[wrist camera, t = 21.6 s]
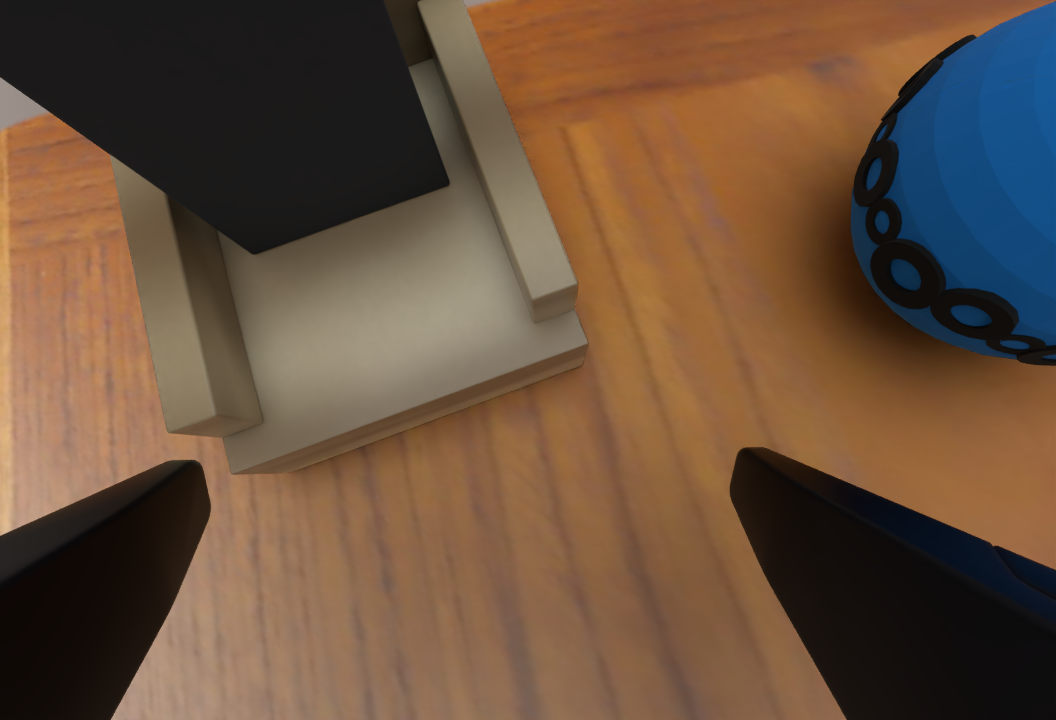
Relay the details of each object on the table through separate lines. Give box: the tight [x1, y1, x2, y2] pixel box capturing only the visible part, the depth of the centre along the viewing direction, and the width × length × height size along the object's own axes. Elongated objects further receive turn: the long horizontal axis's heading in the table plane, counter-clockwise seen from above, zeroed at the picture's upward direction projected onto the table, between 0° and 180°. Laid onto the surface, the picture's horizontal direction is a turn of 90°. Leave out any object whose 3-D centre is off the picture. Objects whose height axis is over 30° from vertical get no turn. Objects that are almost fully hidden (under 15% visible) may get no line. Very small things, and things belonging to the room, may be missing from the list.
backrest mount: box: [110, 0, 589, 475], centre depth 15 cm, size 11×10×6 cm
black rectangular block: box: [0, 0, 450, 254], centre depth 11 cm, size 4×6×8 cm, turn 110°
